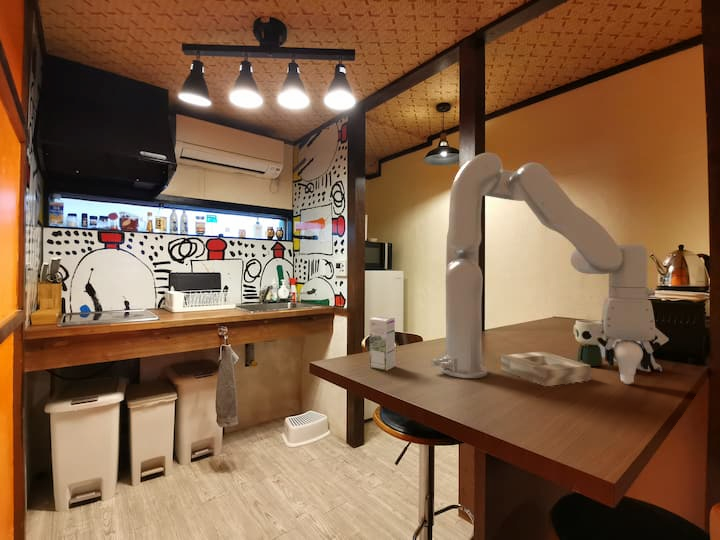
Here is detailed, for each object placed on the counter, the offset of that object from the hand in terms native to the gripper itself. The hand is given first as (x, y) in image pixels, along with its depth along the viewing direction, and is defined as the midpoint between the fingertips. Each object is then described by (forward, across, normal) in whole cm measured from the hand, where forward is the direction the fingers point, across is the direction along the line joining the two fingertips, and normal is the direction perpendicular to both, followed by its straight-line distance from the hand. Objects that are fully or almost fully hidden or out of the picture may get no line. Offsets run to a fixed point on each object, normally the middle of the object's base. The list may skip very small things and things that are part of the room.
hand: (627, 365), depth 83 cm
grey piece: (+5, -4, -23) cm, 24 cm away
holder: (+5, +18, +1) cm, 19 cm away
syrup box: (+5, +60, +15) cm, 62 cm away
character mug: (+5, +6, -16) cm, 17 cm away
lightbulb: (+5, 0, 0) cm, 5 cm away
